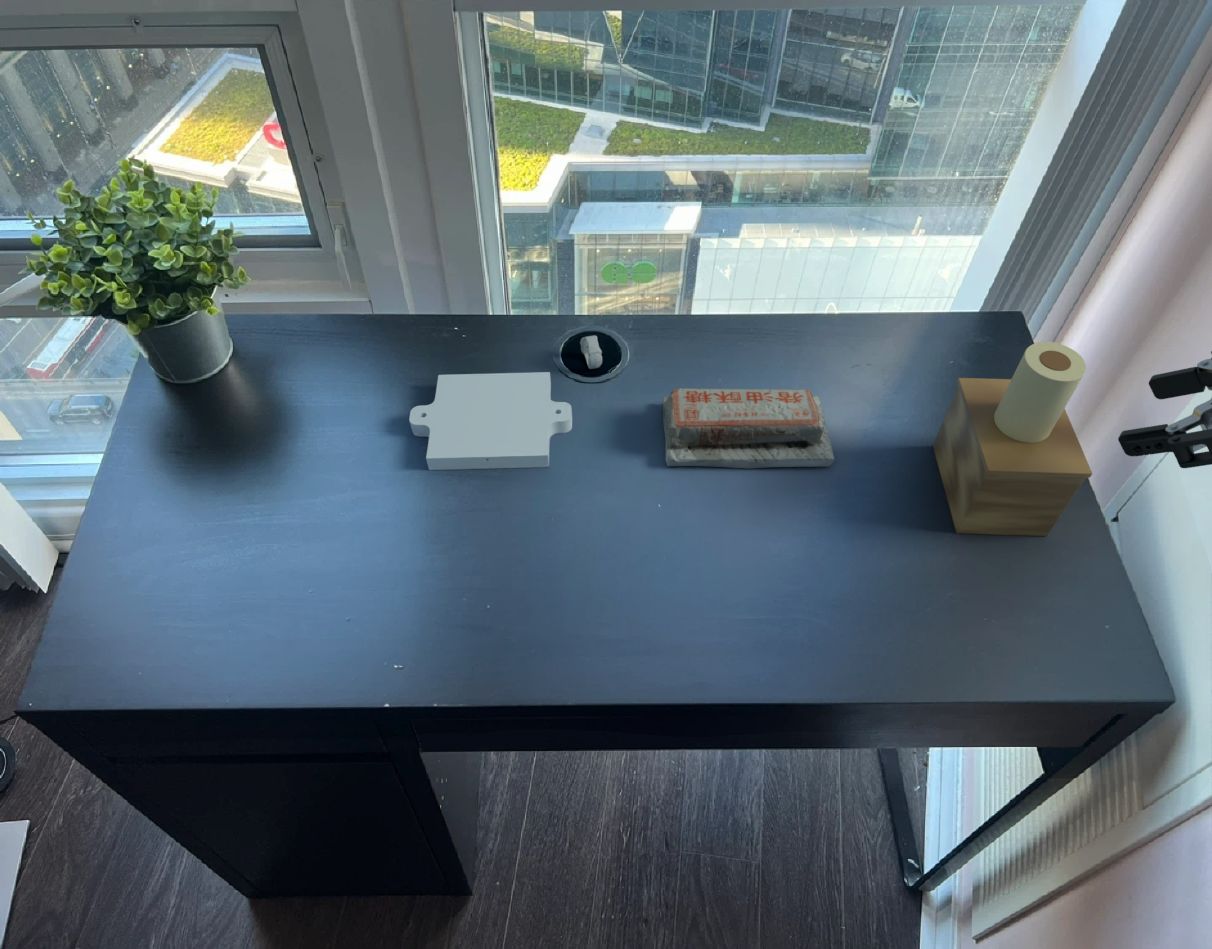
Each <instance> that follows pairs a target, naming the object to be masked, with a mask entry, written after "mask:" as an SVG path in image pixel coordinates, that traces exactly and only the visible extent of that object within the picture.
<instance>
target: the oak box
mask: <svg viewBox="0 0 1212 949" xmlns="http://www.w3.org/2000/svg"><path fill="white" fill-rule="evenodd" d="M1011 379H1012V378H979V377H978V378H977V377H974V378H973V377H958V378H957V381H956V384H957V387H956V390H955V392H954V394H953V397H952V399H951V402H950V404H949V406H948V408H947V411H946V413H945V416H944V418H943V419H942V420H943V421H942V423H941V425H940V427H939V429H938V432H937V434H936V437H935V438H934V440H933V444H932V448H933V452H934V456H935V460H936V464H937V466H938V471H939V474H940V477H941V481H942V485H943V488H944V493H945V496H946V500H947V504H948V507H949V510H950V514H951V518H952V522H953V525H954V529H955V532H956V534H970V535H973V534H974V535H999V536H1001V535H1002V536H1029V537H1031V536H1033V537H1048V535H1049V534H1050V533H1051V531H1052V529H1053V528H1054V526H1055V525H1056V523H1057V522H1058V520H1059V519H1060V517H1061V516H1062V514H1063V513H1064V511H1065V510H1066V508H1067V507H1068V505H1069V504H1070V502H1071V501H1072V499H1073V498H1074V497H1075V495H1076V493H1077V492H1078V490H1079V489H1080V487H1081V486H1082V484H1083V483H1084V481H1085V480H1086V478H1087V479H1090V478H1091V477H1092V476H1093V470H1091V467H1090V465H1089V461H1088V460H1087V458H1086V455H1085V453H1084V451H1083V448H1082V446H1081V443H1080V440H1079V439H1078V437H1077V434H1076V431H1075V429H1074V426H1073V425H1072V423H1071V420H1070V418H1069V415H1068V413H1067V411H1066V407H1065V408H1064V410H1063V412H1062V414H1061V415H1060V417H1059V419H1058V421H1057V422H1056V424H1055V426H1054V427H1053V429H1052V431H1051V433H1050V434H1049V436H1048V437H1047V438H1046V439H1044V440H1042V441H1040V442H1035V443H1026V442H1021V441H1017V440H1014V439H1012V438H1010V437H1008V436H1007V435H1005V434H1004V433H1003V432H1001V431H1000V430H999V428H998V427H997V425H996V424H995V421H994V414H995V412H996V410H997V408H998V406H999V404H1000V401H1001V399H1002V397H1003V395H1004V393H1005V391H1006V389H1007V387H1008V385H1009V383H1010V381H1011Z"/></svg>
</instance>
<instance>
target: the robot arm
mask: <svg viewBox="0 0 1212 949" xmlns="http://www.w3.org/2000/svg"><path fill="white" fill-rule="evenodd" d="M1210 354H1211V355H1212V350H1211V351H1210ZM1148 386H1149V388H1150V390H1151V392H1152V394H1153V397H1154V398H1155V399H1157V400H1167V399H1171V398H1177V397H1184V396H1189V395H1195V394H1199V393H1204V392H1205V390H1206V388H1207V390H1208V391H1212V357H1211V358H1207V359H1203V360H1201V361H1199V362H1198V363H1196V366H1192V367H1187V368H1181V369H1177V370H1173V371H1172V370H1171V371H1167V372H1163V373H1158V374H1154V375H1152V376H1151V377H1150V379H1149V380H1148ZM1199 426H1200V428H1201V430H1198V431H1197V430H1196V431H1192V432H1188V431H1190V430H1193V429H1195V428H1197V427H1199ZM1117 441H1118V443H1119V444H1120V447H1121V448H1122V450H1123V452H1124V454H1125V455H1126V456H1127V457H1142V456H1149V455H1157V454H1165V453H1173V455H1174V457H1175V459H1176V461H1177V464H1178V466H1179V468H1181V469H1191V468H1196V467H1198V468H1199V467H1205V466H1211V465H1212V398H1210V399H1209V400H1206V401H1205V402H1203V403H1200V404H1199V405H1196V406H1195V407H1194V409H1193V411H1192V413H1191V414H1190V415H1188V416H1186V417H1183V418H1182V419H1179V420H1177V421H1175V422H1173V423H1171V424H1168V423H1164V424H1163V423H1162V424H1158V425H1151V426H1146V427H1139V428H1132V429H1126V430H1123V431H1121V433H1120V434H1119V436H1118V438H1117ZM1204 448H1207V450H1208V451H1201V452H1197V451H1200V450H1202V449H1204Z"/></svg>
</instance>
